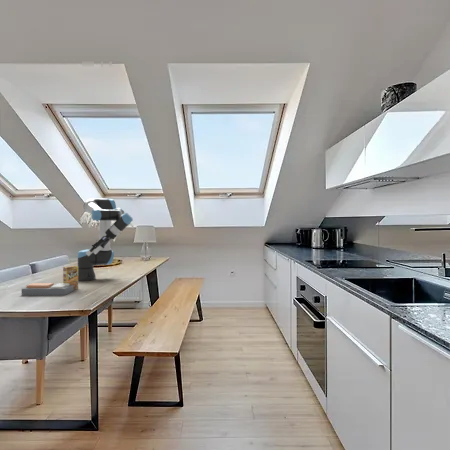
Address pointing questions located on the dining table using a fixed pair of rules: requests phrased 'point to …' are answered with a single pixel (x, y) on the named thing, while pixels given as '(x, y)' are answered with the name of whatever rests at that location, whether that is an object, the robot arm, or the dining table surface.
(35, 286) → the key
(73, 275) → the candy box
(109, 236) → the robot arm
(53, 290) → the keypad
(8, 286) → the dining table surface
